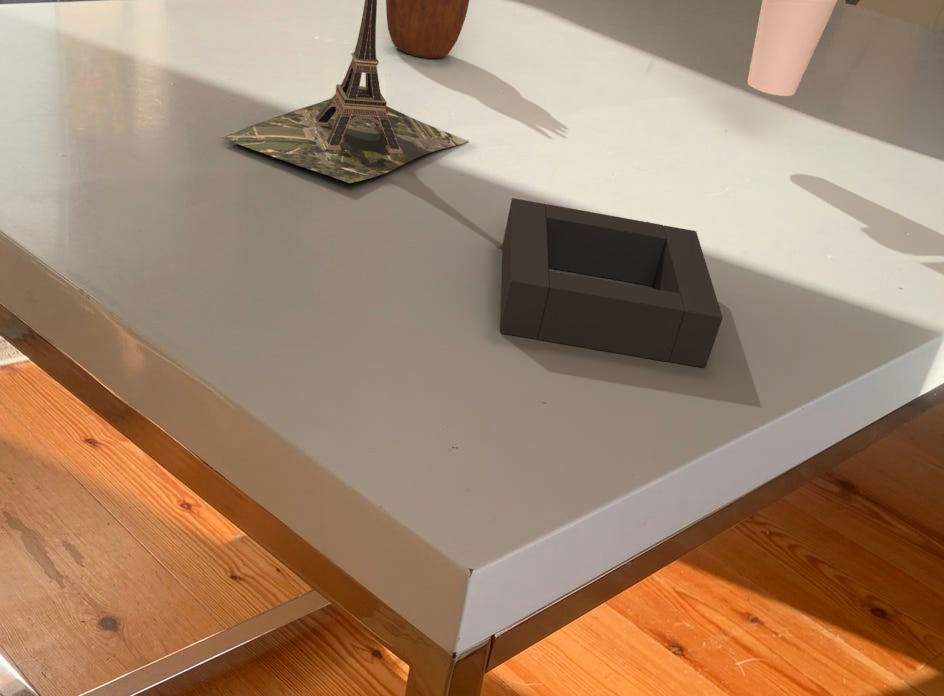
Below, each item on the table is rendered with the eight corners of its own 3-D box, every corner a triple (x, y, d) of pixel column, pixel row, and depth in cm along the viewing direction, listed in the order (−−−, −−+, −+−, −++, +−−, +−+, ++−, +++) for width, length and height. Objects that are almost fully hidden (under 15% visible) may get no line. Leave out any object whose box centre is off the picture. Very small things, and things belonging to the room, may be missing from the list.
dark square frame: (681, 277, 68) (696, 230, 66) (705, 368, 59) (723, 317, 57) (502, 245, 67) (511, 197, 65) (499, 333, 58) (510, 280, 56)
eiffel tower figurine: (350, 98, 83) (370, -107, 74) (469, 141, 80) (504, -68, 71) (220, 143, 72) (227, -91, 63) (353, 195, 69) (378, -43, 60)
